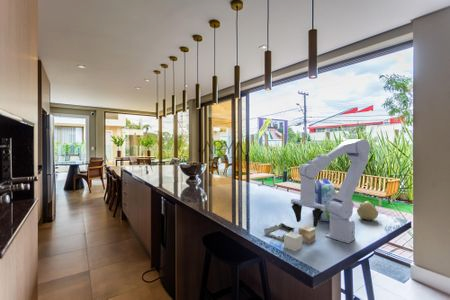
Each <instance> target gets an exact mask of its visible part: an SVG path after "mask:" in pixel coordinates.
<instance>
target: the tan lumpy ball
mask: <svg viewBox="0 0 450 300" xmlns="http://www.w3.org/2000/svg"><path fill="white" fill-rule="evenodd" d="M356 213H357V215H358V216H359V218H360V219H361V220H367V221H375V220H376V219H377V218H378V215H379V211H378V210H377V208H376V206H375V204H373V203H371V202H370V201H369V200H366V201H364V202H362V203H360V205H359V207H357V209H356Z"/></svg>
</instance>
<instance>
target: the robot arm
mask: <svg viewBox="0 0 450 300" xmlns="http://www.w3.org/2000/svg"><path fill="white" fill-rule="evenodd" d="M371 150H372V147H371V144H370V142H369V141H368V139H366V138H365V139H364V138H360V139H346V140H344V141H341V142H340V144H339V145H337V146H336V147H335V148H333V149H332V150H330V151H329V152H327V153H326V154H324V153H322V154H321V153H320V154H319V153H318V154H317V155H316V157H314V158H313V159H311V160H310V159H309V160H307V163H303V164H301V165H300V166H299V168H298V170H297V172H298V175H299V176H300V195H299V196H300V199H298V198H297V199H295V198H292V199H290V205H291V209H292V210H293V212H294V216H295V220H296V222H297V223H299V222H301V219H302V210H303V207H306V208H310V209H312V211H311V212H312V216H313V217H312V218H313V228H317V227H318V225H319V219H320V217H321V215H322V213H323V211H324V210H325V205H322V204H318V203H315V183H316V178H317V177H318V175H319V173H320V172H321V171H323V170H325V169H326V168H328V167H329V166H331V164H332V163H331V162H332V161H334V160H335V159H337V158H339V157H341V156H343V155H345V154H346V156H347V157H348V158H349V159H350V161H351V164H350V166H349V168H348V170H347V172H346V174H345V177H344V179H343V182H342V184H341V186H340V187H339V190H338V192H337V193H336V195H334V196H332V198H331V200H330V201H328V203H327V206H326V208H327V211H328V212H329V215H330V221H329V233H327V234H326V235H325V237H326V238H330V239H333V240H336V241H340V242H343V243H346V244H350V243H351V242H352V241H354V239H356V237H355V233H356V232H355V230H356V225H355V224H356V223H355V220H353V219H351V217H352V215H353V213H354V212H353V211H354V210H353V209H354V206H355V204H354V202H353V200H352V197H353V195H354V193H355V190H356V189H357V186H358V185H359V182H360V180H361V177H362V176H363V173H364V171H365V170H366V166H367V165H368V159H369V155H370V152H371ZM314 209H315V210H314Z"/></svg>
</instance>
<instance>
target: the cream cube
mask: <svg viewBox="0 0 450 300" xmlns="http://www.w3.org/2000/svg"><path fill="white" fill-rule="evenodd" d="M288 232H289V231H288ZM288 232H287V233H284V234H285V235H284V234H283V235H284V240H283V247H284V248H285V249H287V248H288V250H290V249H291V250H290V251H293V252H298V251H299V250H301V249H302V248H303V241H302V235H300V234H298V232H295V231H294V232H289V233H288Z"/></svg>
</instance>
